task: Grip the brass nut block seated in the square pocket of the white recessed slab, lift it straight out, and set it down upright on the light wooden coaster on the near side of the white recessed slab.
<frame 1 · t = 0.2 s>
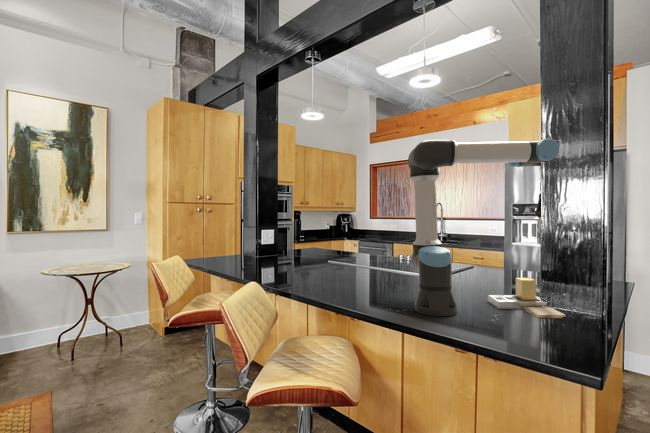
hand: (551, 234, 135), 27 cm above the countertop, tool pointing down, fingers open, 13 cm apart
coaster: (544, 315, 119), on the countertop
white recessed slab: (517, 306, 130), on the countertop
nut block: (525, 305, 130), resting on white recessed slab
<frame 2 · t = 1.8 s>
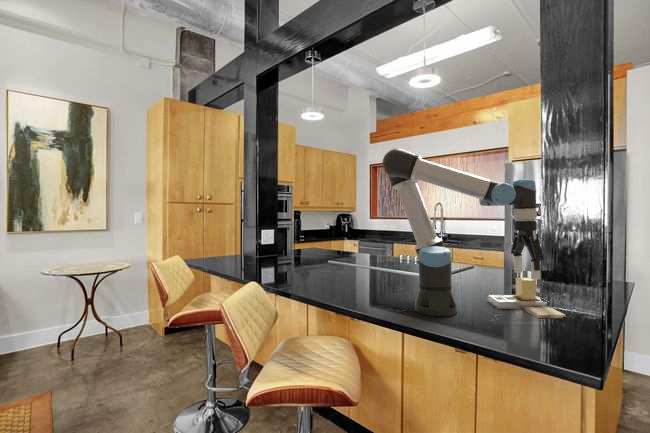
hand: (526, 275, 129), 12 cm above the countertop, tool pointing down, fingers open, 13 cm apart
nothing on the countertop moved.
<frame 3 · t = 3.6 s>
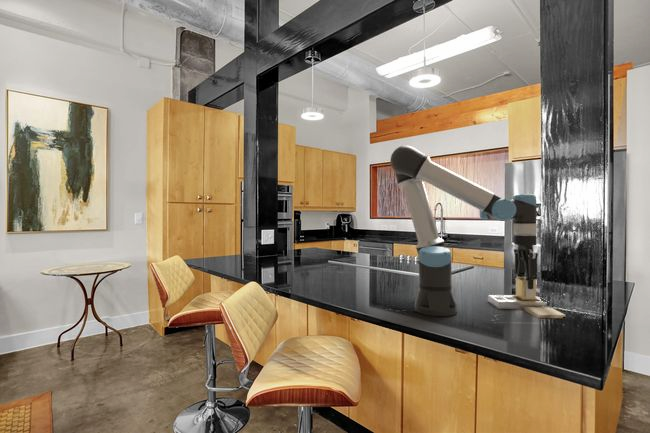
hand: (525, 295, 129), 4 cm above the countertop, tool pointing down, fingers closed on nut block, 5 cm apart
nut block: (525, 305, 130), point 1 cm above the countertop, touching gripper, white recessed slab
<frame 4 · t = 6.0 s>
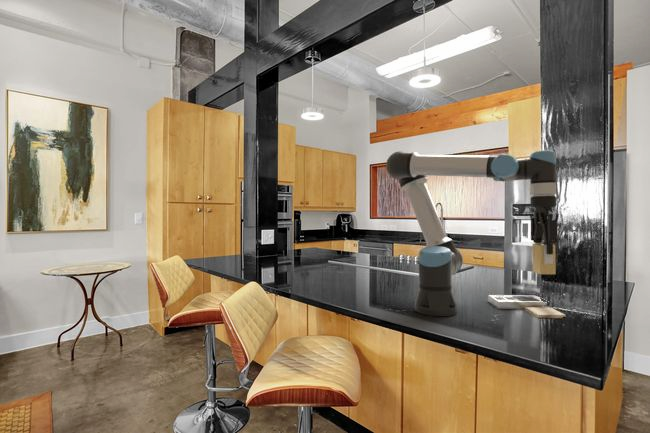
hand: (543, 262, 118), 19 cm above the countertop, tool pointing down, fingers closed on nut block, 5 cm apart
nut block: (543, 272, 118), point 15 cm above the countertop, touching gripper
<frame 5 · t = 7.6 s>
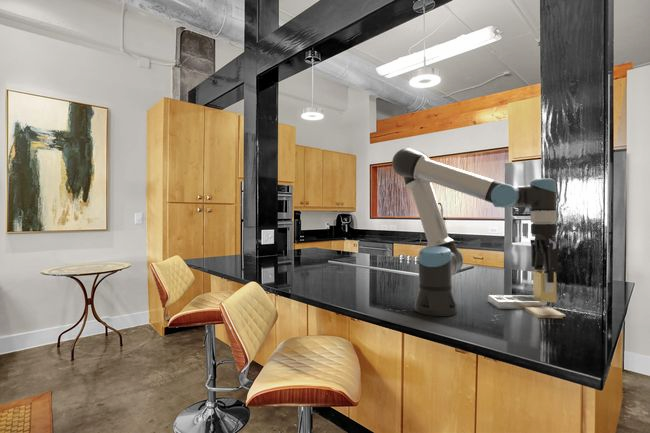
hand: (544, 289, 118), 9 cm above the countertop, tool pointing down, fingers closed on nut block, 5 cm apart
nut block: (544, 300, 118), point 5 cm above the countertop, touching gripper
when the fingers open (7 cm above the countertop, at t = 8.8 s): nut block drops 1 cm, resting on coaster.
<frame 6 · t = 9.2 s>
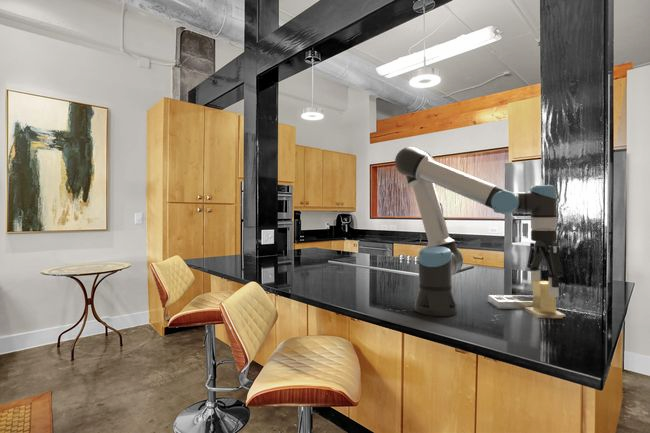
hand: (544, 292, 118), 8 cm above the countertop, tool pointing down, fingers open, 11 cm apart
nut block: (544, 310, 119), point 1 cm above the countertop, touching coaster
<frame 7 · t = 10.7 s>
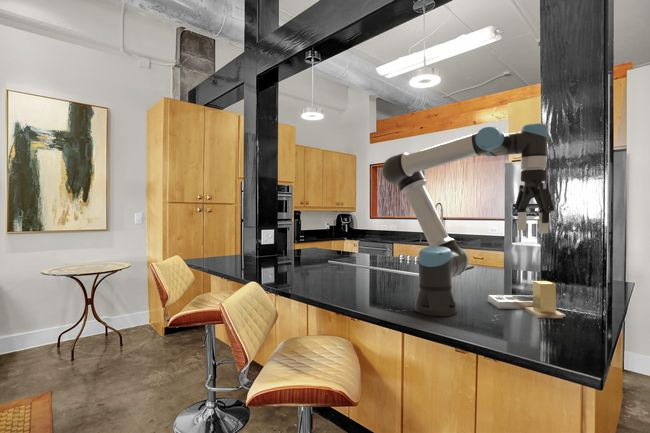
hand: (531, 231, 117), 29 cm above the countertop, tool pointing down, fingers open, 13 cm apart
nothing on the countertop moved.
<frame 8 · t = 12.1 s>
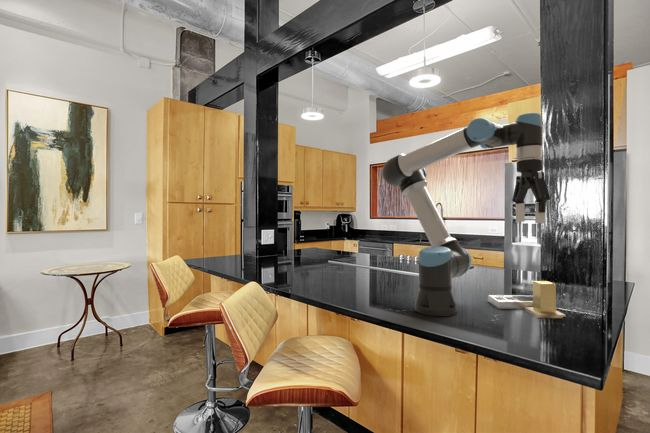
hand: (529, 222, 116), 33 cm above the countertop, tool pointing down, fingers open, 13 cm apart
nothing on the countertop moved.
at the end: nut block inside the target area on the coaster (0.0 cm from its centre), point 1.5 cm above the coaster's base; nut block tilted 0°; nut block touching coaster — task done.
